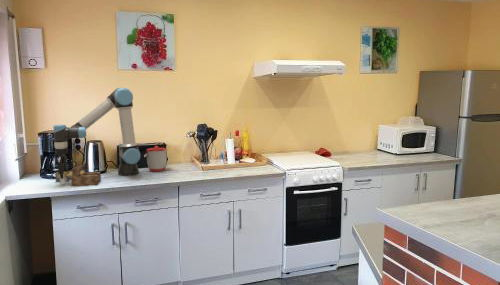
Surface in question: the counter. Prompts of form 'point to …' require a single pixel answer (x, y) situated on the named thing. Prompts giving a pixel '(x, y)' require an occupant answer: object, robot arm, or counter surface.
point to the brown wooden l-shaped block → (84, 177)
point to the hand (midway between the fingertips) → (63, 182)
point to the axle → (69, 173)
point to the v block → (59, 178)
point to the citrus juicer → (156, 158)
